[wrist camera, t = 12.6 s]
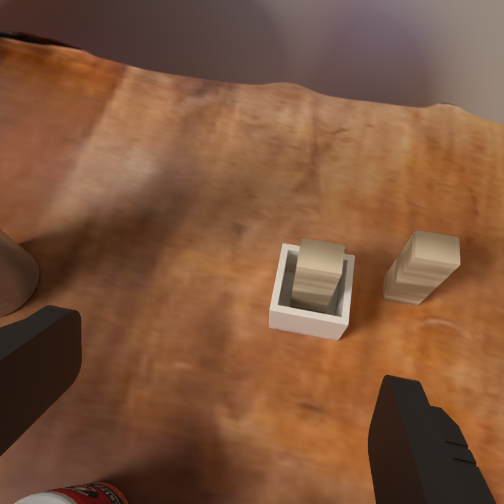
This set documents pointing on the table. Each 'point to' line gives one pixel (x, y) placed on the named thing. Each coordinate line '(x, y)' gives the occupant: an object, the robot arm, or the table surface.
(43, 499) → the canned food
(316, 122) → the table surface
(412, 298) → the beige rectangular block
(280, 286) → the open square box
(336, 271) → the tall square pillar
